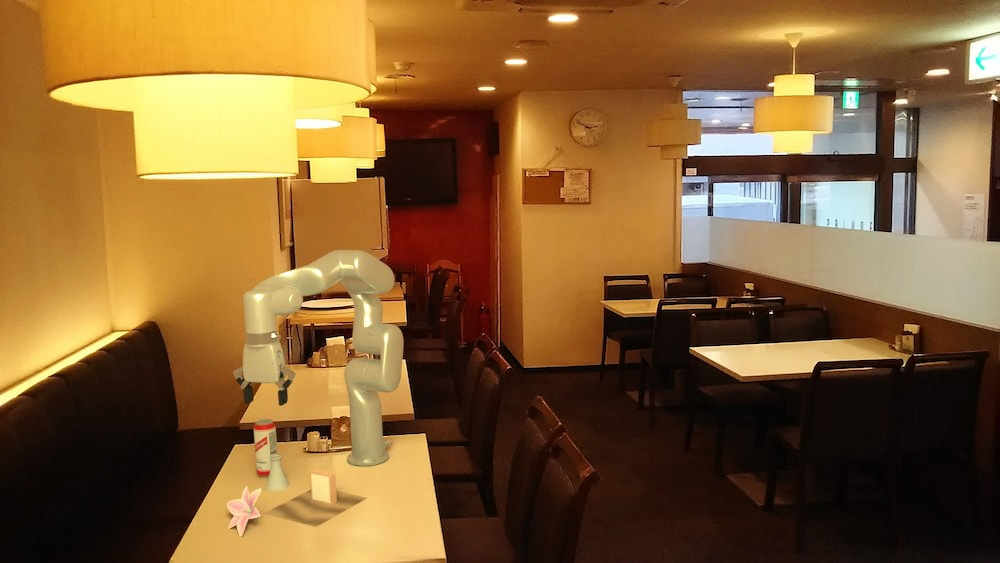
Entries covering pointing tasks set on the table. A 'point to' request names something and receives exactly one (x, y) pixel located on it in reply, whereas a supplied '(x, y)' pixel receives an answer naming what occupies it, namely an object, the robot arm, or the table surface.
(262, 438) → the beer can
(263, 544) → the table surface
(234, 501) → the lily
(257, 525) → the table surface
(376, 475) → the table surface
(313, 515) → the board
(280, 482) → the flask
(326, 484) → the tile
